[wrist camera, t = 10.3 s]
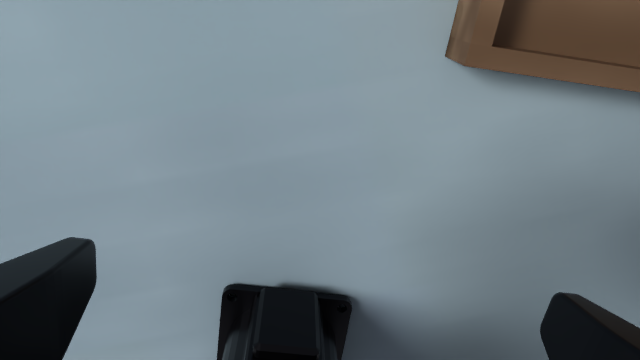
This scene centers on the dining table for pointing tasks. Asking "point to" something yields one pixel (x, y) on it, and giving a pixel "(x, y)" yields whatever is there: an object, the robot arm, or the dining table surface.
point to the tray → (551, 39)
